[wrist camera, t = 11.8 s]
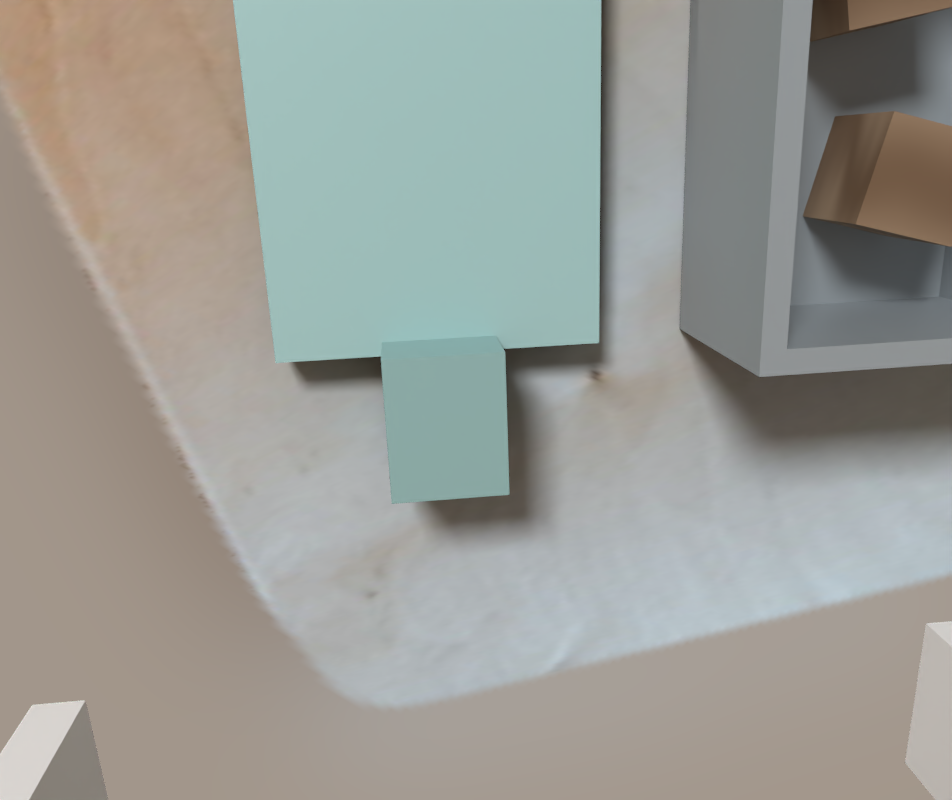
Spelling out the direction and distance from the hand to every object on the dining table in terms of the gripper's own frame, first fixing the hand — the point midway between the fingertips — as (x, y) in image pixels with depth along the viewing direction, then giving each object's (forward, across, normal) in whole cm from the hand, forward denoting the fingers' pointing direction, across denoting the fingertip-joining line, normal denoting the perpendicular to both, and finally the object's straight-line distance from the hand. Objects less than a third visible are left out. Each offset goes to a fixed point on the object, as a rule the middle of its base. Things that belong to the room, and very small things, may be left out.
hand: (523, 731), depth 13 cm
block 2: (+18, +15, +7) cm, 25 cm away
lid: (+19, 0, +8) cm, 21 cm away
